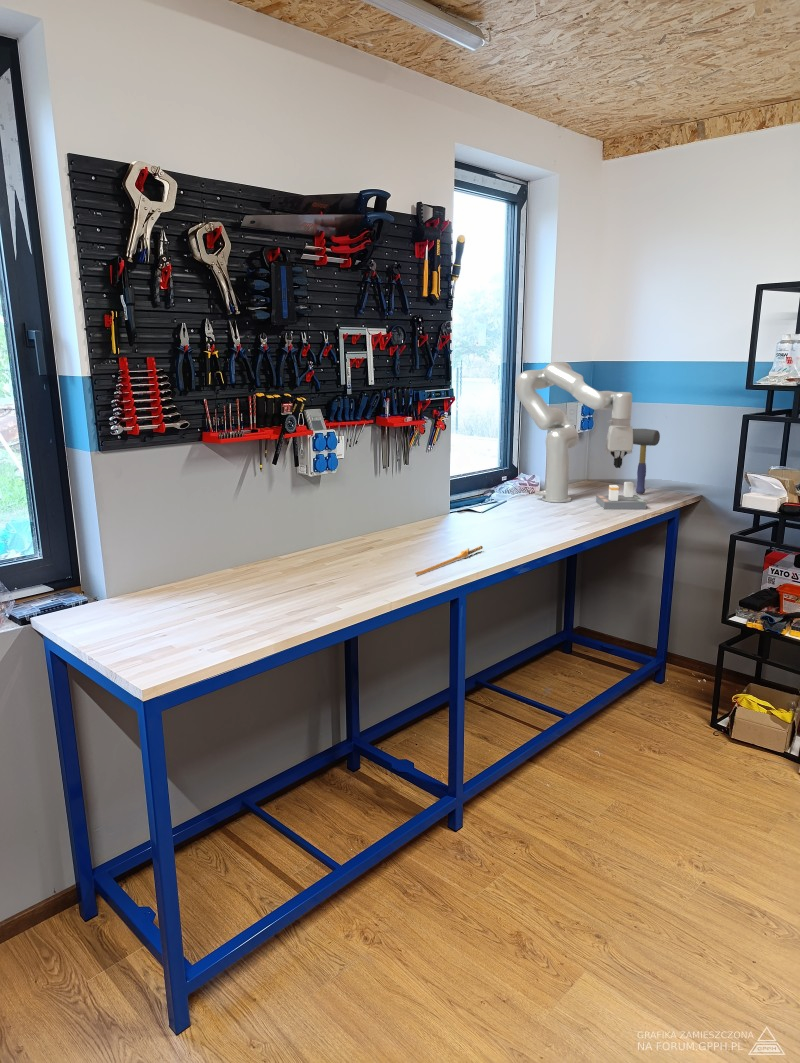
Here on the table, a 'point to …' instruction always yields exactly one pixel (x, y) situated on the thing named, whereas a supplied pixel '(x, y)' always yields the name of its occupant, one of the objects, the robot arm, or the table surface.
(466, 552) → the katana
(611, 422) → the robot arm
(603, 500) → the breaker panel
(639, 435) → the rubber mallet
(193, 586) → the table surface
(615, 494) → the block
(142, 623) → the table surface
